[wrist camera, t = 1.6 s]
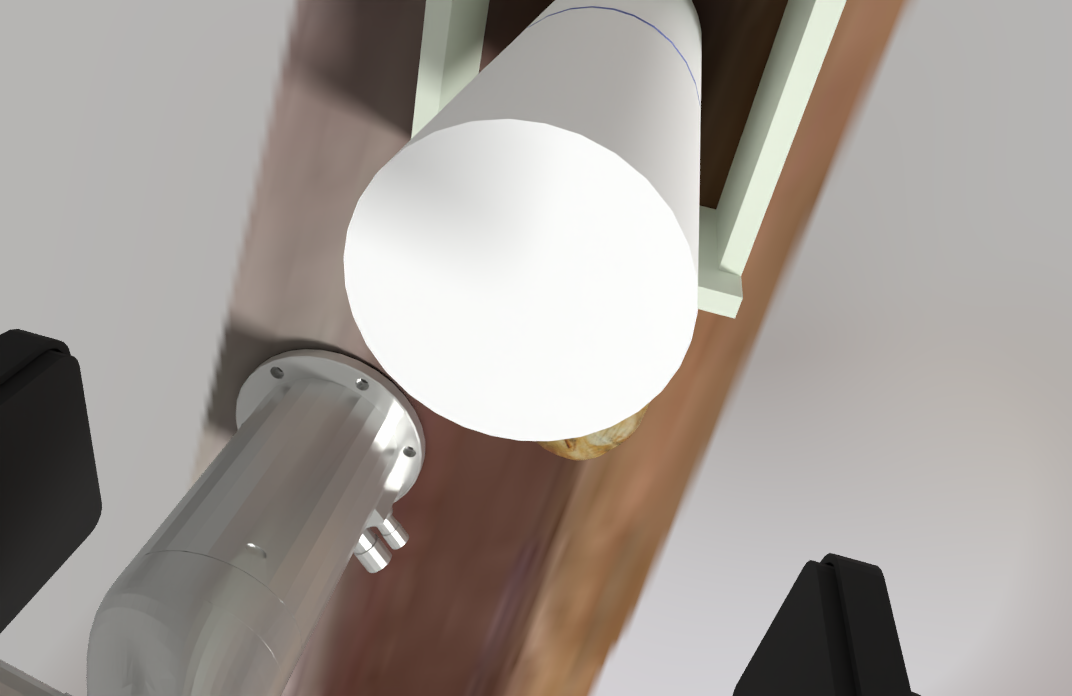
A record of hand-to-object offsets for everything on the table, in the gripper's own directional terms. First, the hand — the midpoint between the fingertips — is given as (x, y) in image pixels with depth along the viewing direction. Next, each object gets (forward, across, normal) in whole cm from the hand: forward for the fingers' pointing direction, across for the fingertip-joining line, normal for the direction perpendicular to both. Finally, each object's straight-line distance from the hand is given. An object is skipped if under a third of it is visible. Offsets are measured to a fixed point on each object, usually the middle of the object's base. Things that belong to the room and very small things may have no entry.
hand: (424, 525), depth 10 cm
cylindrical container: (+32, 0, +1) cm, 32 cm away
